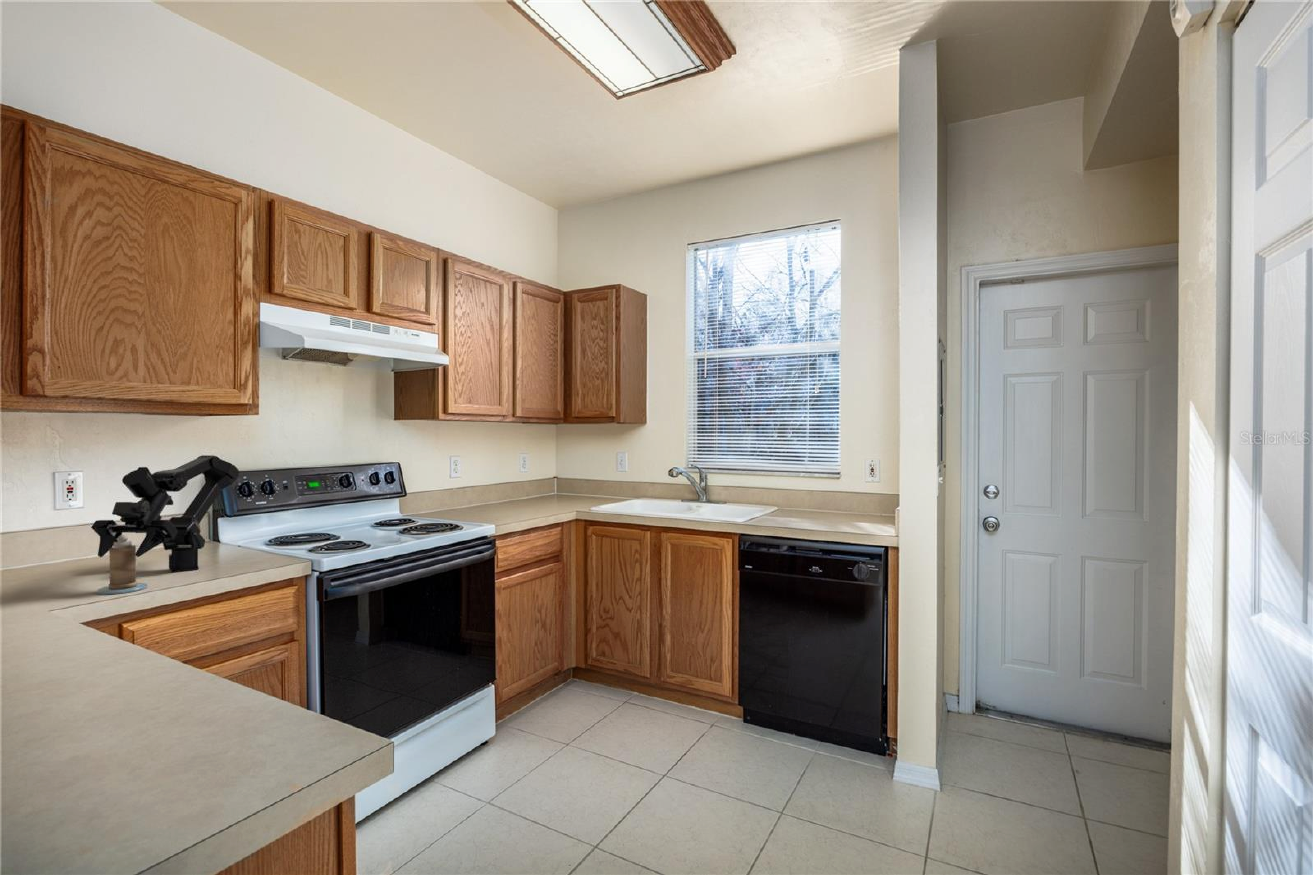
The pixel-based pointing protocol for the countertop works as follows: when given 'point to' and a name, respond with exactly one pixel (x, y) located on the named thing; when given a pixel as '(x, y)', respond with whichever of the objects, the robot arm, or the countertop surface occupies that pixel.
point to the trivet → (110, 592)
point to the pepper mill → (122, 565)
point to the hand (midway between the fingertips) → (118, 556)
